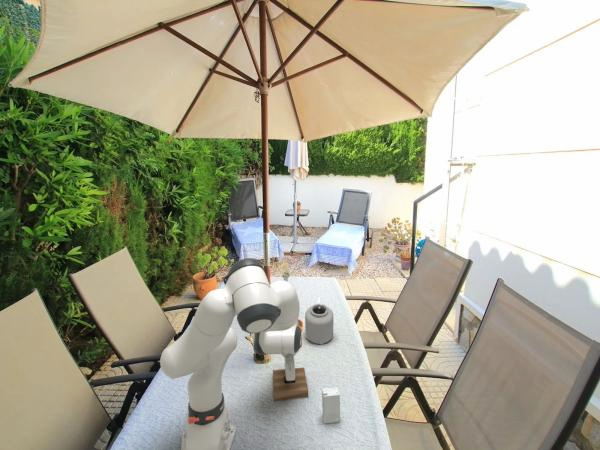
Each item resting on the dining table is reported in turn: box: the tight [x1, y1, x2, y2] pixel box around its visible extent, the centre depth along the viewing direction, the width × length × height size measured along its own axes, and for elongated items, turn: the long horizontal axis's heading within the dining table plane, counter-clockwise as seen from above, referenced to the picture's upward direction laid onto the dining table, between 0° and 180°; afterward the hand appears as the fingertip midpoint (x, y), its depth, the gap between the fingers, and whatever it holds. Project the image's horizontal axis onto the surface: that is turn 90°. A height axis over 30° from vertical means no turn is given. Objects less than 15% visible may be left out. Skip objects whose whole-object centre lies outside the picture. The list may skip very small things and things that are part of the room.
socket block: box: [272, 367, 309, 401], centre depth 137 cm, size 14×14×4 cm
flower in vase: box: [279, 261, 291, 282], centre depth 223 cm, size 13×11×25 cm
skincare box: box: [321, 386, 341, 424], centre depth 119 cm, size 6×4×12 cm
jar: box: [304, 297, 335, 349], centre depth 168 cm, size 19×15×25 cm
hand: (289, 375), depth 136 cm, fingers open, 3 cm apart
